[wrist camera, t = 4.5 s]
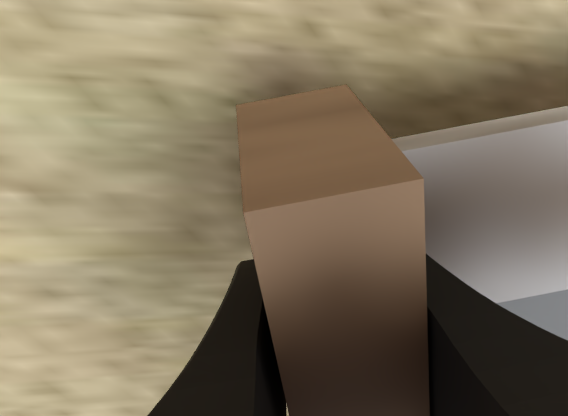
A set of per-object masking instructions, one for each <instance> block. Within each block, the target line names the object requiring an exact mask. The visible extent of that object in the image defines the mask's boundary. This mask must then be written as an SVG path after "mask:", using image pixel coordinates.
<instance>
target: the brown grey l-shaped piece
mask: <svg viewBox="0 0 568 416" xmlns="http://www.w3.org/2000/svg"><path fill="white" fill-rule="evenodd" d="M236 112H237V127H238V142H239V157H240V171H241V186H242V201H243V214H244V218H245V223H246V227H247V231H248V236H249V240H250V245H251V249H252V253H253V258H254V262H255V267H256V271H257V275H258V280H259V284H260V289H261V293H262V297H263V302H264V306H265V311H266V315H267V319H268V324H269V328H270V333H271V337H272V341H273V346H274V350H275V354H276V359H277V363H278V368H279V372H280V376H281V381H282V385H283V390H284V394H285V398H286V403H287V407H288V412H289V416H430V407H429V367H428V327H427V287H426V254H427V255H429V256H430V257H431V258H432V259H434V260H435V261H436V262H437V263H439V264H440V265H441V266H443V267H444V268H445V269H447V270H448V271H449V272H451V273H452V274H453V275H455V276H456V277H458V278H459V279H460V280H462V281H463V282H464V283H466V284H467V285H469V286H470V287H472V288H473V289H474V290H476V291H477V292H479V293H481V294H482V295H484V296H485V297H487V298H488V299H490V300H492V301H493V302H495V303H500V302H506V301H511V300H516V299H521V298H526V297H531V296H536V295H542V294H547V293H552V292H557V291H562V290H567V289H568V106H564V107H559V108H553V109H548V110H543V111H537V112H532V113H527V114H521V115H516V116H511V117H505V118H500V119H495V120H489V121H484V122H479V123H474V124H468V125H463V126H458V127H452V128H447V129H442V130H436V131H431V132H426V133H420V134H415V135H410V136H404V137H399V138H394V139H391V138H390V137H389V136H388V134H387V133H386V132H385V131H384V130H383V128H382V127H381V126H380V125H379V124H378V122H377V121H376V120H375V119H374V117H373V116H372V115H371V114H370V113H369V111H368V110H367V109H366V108H365V107H364V105H363V104H362V103H361V102H360V100H359V99H358V98H357V97H356V96H355V94H354V93H353V92H352V91H351V90H350V88H349V87H348V86H347V85H340V86H335V87H329V88H324V89H319V90H313V91H308V92H303V93H297V94H292V95H287V96H281V97H276V98H270V99H265V100H260V101H254V102H249V103H244V104H238V105H236Z"/></svg>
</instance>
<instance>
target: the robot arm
mask: <svg viewBox="0 0 568 416" xmlns="http://www.w3.org/2000/svg"><path fill="white" fill-rule="evenodd" d="M426 287H427V327H428V367H429V407H430V416H568V340H566V339H563V338H561V337H559V336H557V335H555V334H552V333H550V332H548V331H546V330H544V329H542V328H540V327H538V326H536V325H534V324H532V323H531V322H529V321H527V320H525V319H523V318H521V317H519V316H517V315H516V314H514V313H512V312H510V311H508V310H507V309H505V308H503V307H501V306H500V305H498V304H496V303H495V302H493V301H492V300H490V299H488V298H487V297H485V296H484V295H482V294H481V293H479V292H477V291H476V290H474V289H473V288H472V287H470V286H469V285H467V284H466V283H464V282H463V281H462V280H460V279H459V278H458V277H456V276H455V275H453V274H452V273H451V272H449V271H448V270H447V269H445V268H444V267H443V266H441V265H440V264H439V263H437V262H436V261H435V260H434V259H432V258H431V257H430V256H429V255H427V254H426ZM148 416H286V398H285V394H284V390H283V385H282V381H281V376H280V372H279V368H278V363H277V359H276V354H275V350H274V346H273V341H272V337H271V333H270V328H269V324H268V319H267V315H266V311H265V306H264V302H263V297H262V293H261V289H260V284H259V280H258V275H257V271H256V267H255V262H254V259H253V260H247V261H241V262H240V263H239V265H238V266H237V268H236V271H235V274H234V276H233V279H232V281H231V284H230V286H229V288H228V291H227V293H226V295H225V297H224V300H223V302H222V304H221V306H220V308H219V310H218V312H217V314H216V316H215V318H214V319H213V321H212V323H211V325H210V327H209V329H208V330H207V332H206V334H205V336H204V337H203V339H202V341H201V342H200V344H199V346H198V347H197V349H196V351H195V352H194V354H193V356H192V357H191V359H190V360H189V362H188V363H187V365H186V366H185V368H184V369H183V371H182V372H181V373H180V375H179V376H178V378H177V379H176V380H175V382H174V383H173V384H172V386H171V387H170V388H169V390H168V391H167V392H166V394H165V395H164V396H163V397H162V398H161V400H160V401H159V402H158V403H157V405H156V406H155V407H154V408H153V410H152V411H151V412H150V413H149V414H148Z"/></svg>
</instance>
